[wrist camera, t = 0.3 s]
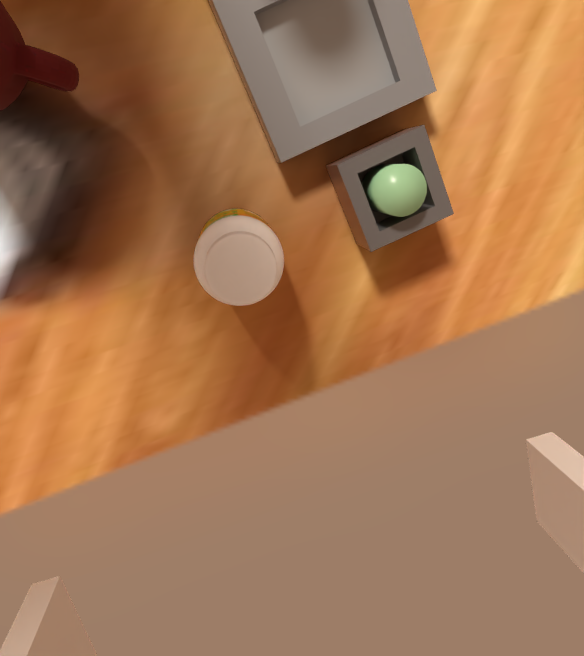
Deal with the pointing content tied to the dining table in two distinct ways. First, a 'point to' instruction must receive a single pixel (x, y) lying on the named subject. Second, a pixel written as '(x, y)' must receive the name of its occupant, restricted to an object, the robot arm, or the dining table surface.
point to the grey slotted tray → (323, 64)
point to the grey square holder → (394, 149)
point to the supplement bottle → (238, 258)
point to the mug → (28, 64)
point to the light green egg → (395, 189)
